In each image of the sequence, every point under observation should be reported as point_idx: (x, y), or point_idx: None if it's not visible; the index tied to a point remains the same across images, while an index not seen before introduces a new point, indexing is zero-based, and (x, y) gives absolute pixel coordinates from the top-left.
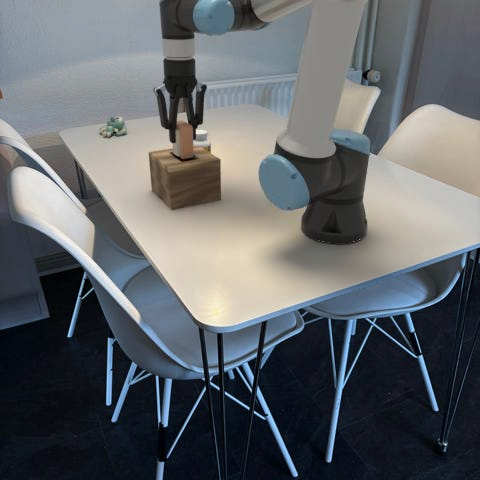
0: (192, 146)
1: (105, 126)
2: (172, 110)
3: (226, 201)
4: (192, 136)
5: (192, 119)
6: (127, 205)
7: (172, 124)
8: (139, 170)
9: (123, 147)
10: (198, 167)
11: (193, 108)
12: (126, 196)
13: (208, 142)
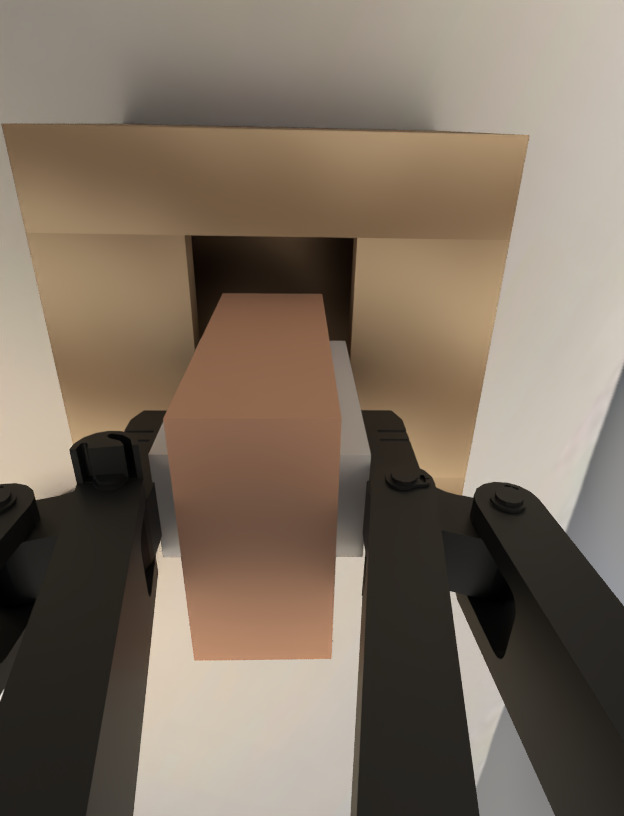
0: (214, 321)
1: None
2: (458, 716)
3: (100, 74)
4: (194, 360)
5: (107, 541)
6: (581, 304)
7: (431, 517)
8: (346, 613)
9: (305, 794)
10: (242, 128)
11: (3, 700)
12: (528, 401)
13: None
